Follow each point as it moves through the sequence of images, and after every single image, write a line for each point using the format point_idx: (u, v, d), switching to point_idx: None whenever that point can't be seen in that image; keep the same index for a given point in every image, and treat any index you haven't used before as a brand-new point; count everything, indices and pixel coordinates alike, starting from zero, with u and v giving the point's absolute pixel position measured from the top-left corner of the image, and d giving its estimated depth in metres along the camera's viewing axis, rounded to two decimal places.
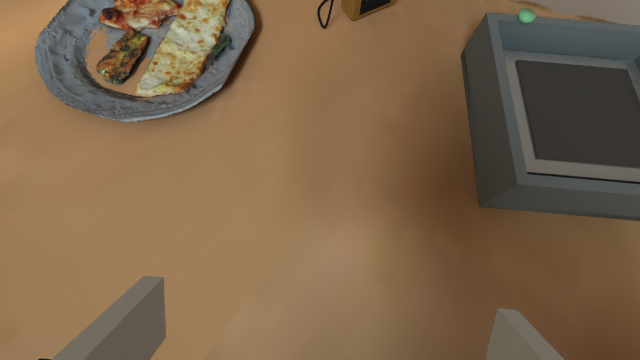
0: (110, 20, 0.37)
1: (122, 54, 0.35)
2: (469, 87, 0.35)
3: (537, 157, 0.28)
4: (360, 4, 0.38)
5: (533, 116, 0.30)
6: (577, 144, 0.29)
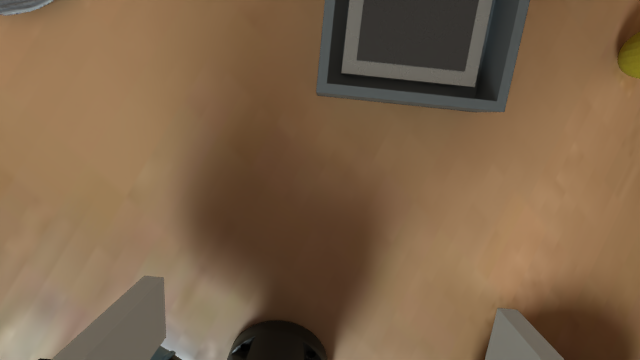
0: None
1: None
2: None
3: (357, 59, 0.33)
4: None
5: (366, 14, 0.32)
6: (396, 46, 0.33)
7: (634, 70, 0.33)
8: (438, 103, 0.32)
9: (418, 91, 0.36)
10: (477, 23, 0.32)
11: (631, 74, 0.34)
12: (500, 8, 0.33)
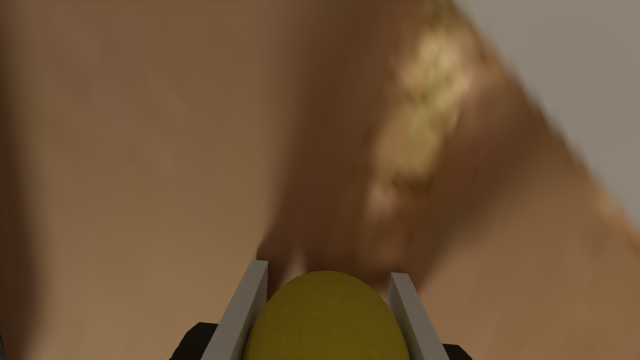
0: None
1: None
2: None
3: None
4: None
5: None
6: None
7: None
8: None
9: None
10: None
11: None
12: None
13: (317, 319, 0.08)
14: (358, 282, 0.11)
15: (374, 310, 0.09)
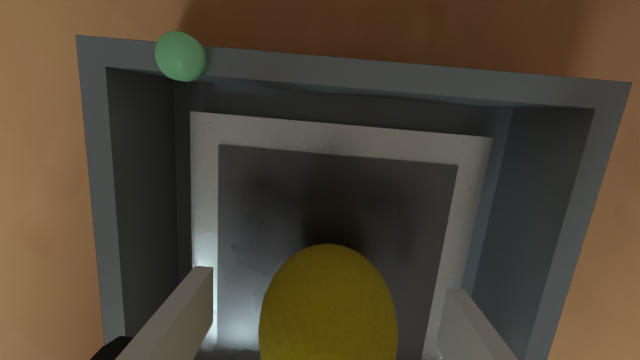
0: None
1: None
2: None
3: (218, 344, 0.18)
4: None
5: (225, 277, 0.17)
6: None
7: None
8: None
9: None
10: (440, 290, 0.17)
11: None
12: (496, 262, 0.16)
13: (321, 275, 0.11)
14: (354, 252, 0.13)
15: (366, 271, 0.12)
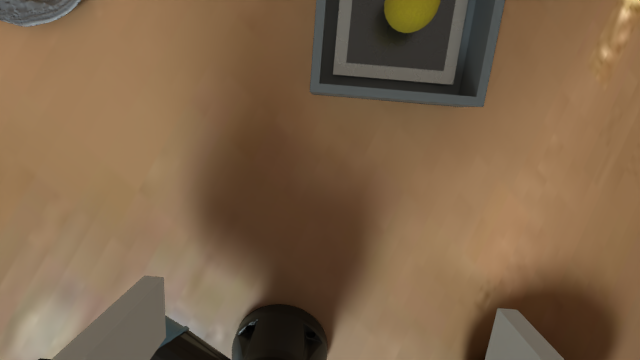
0: None
1: None
2: None
3: (346, 62, 0.37)
4: None
5: (354, 21, 0.36)
6: (382, 49, 0.37)
7: (391, 23, 0.32)
8: (422, 99, 0.35)
9: (405, 88, 0.39)
10: (453, 27, 0.36)
11: (394, 28, 0.33)
12: (479, 10, 0.35)
13: None
14: None
15: None
